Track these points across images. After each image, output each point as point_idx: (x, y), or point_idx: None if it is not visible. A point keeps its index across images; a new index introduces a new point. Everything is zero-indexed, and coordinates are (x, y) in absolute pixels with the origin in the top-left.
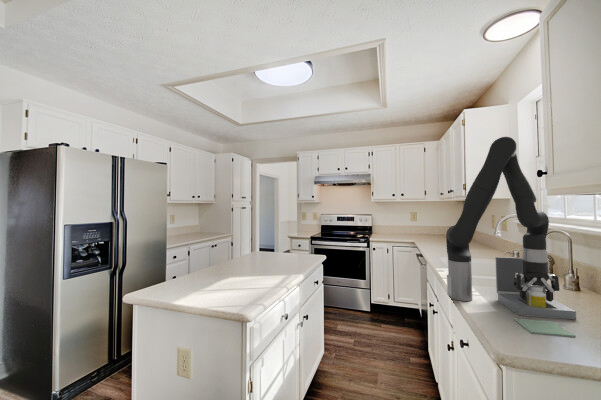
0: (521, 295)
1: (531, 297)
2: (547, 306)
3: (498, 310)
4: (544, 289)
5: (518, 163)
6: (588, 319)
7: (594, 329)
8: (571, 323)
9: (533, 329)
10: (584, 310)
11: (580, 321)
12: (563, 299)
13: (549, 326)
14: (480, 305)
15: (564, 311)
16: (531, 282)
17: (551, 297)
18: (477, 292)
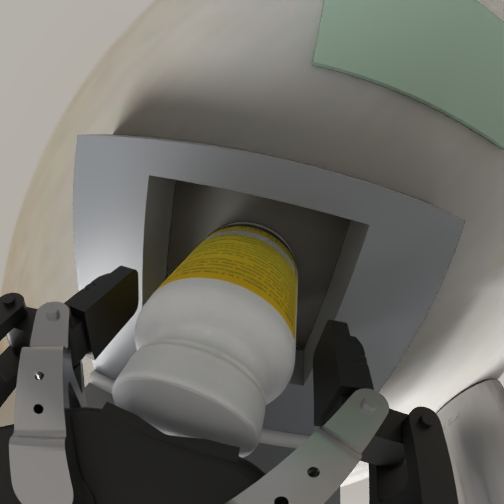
0: (363, 360)
1: (293, 320)
2: (154, 284)
3: (474, 285)
4: None
5: None
6: (63, 147)
7: (141, 16)
8: (188, 67)
9: (490, 28)
10: (28, 256)
11: (113, 108)
12: None
13: (398, 15)
14: (483, 345)
15: (137, 138)
16: (273, 499)
17: (104, 280)
18: None
